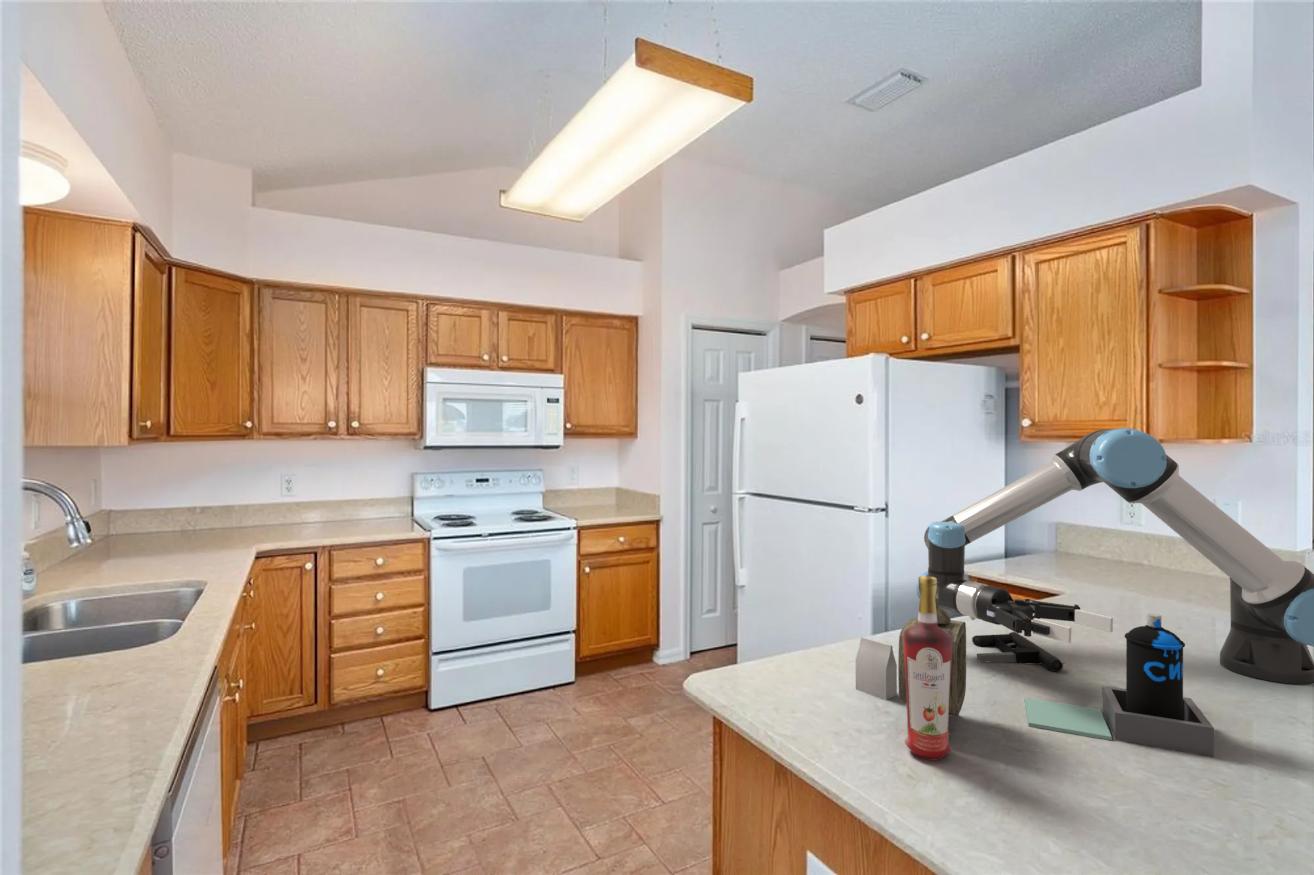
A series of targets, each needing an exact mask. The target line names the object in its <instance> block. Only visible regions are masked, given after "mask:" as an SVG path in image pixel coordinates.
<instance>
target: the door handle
mask: <svg viewBox="0 0 1314 875" xmlns="http://www.w3.org/2000/svg"><path fill="white" fill-rule="evenodd" d="M971 642H972V643H973V645H975V646H977V647H994V646H995V649H997V650H998V651H999V652H981V653H976V660H977V659H978V660H979V661H990V662H989V663H1016V662H1017V664H1018V663H1041V665H1042V666H1044V667H1045V668H1047V669H1048V670H1050V671H1053V672H1060V671H1062V669H1063V667H1064V664H1066V663H1065V662H1062V661H1061V660H1060V659H1059V658H1058V657H1056V656H1055V655H1053V654H1052V653H1050V652H1048V651H1047V650H1045V649H1044V648H1042V647H1041V646H1039V645H1038V644H1036V643H1034V642H1033V641H1031V640H1029V639H1028V638H1027V637H1025V636H1024V635H1021V634H1020V633H1016V632H1014V631H1012V632H1009V633H1005V634H983V635H974V636H973V637H972V638H971ZM1012 647H1013V648H1012ZM978 660H977V661H978ZM979 661H978V662H979Z"/></svg>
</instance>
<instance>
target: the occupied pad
mask: <svg viewBox="0 0 1314 875" xmlns="http://www.w3.org/2000/svg"><path fill="white" fill-rule="evenodd" d="M1024 704H1025V712H1026V718H1027V725H1028V727H1032V728H1037V729H1038V728H1039V729H1043V730H1049V731H1055V732H1060V733H1067V734H1073V735H1079V736H1084V737H1090V738H1095V739H1096V738H1097V739H1101V740H1107V741H1112V740H1113V738H1112V737H1113V735H1111V734H1112V733H1111V731H1110V730H1109V726H1108V725H1107V724H1108V723H1107V722H1106V720H1105V716H1104V715H1103V713H1102V710H1101V709H1100V708H1094V707H1088V706H1083V705H1081V706H1080V705H1075V704H1069V703H1062V702H1055V701H1051V700H1042V699H1038V698H1032V697H1031V698H1029V697H1024Z"/></svg>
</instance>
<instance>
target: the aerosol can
mask: <svg viewBox="0 0 1314 875" xmlns="http://www.w3.org/2000/svg"><path fill="white" fill-rule="evenodd" d="M1124 638H1125V639H1126V640H1125V642H1126V646H1125V647H1126V649H1125V650H1126V656H1125V657H1126V659H1125V660H1126V661H1125V662H1126V670H1125V672H1126V673H1125V675H1126V676H1125V678H1126V680H1125V681H1126V683H1125V685H1126V686H1125V687H1126V688H1125V689H1126V712H1130V713H1137V714H1143V715H1150V716H1156V717H1163V718H1169V719H1176V720H1182V721H1183V697H1184V648H1185V646H1186V643H1185V642H1184V641H1183V640H1181V639H1180V637H1179V636H1178V635H1177V634H1176V633H1174V632H1172V631H1171V630H1169V629H1165V628H1164V627H1162V615H1161V614H1158V613H1153V612H1151V613H1150V612H1149V613H1147V614H1146V624H1145V625H1144V626H1143V625H1142V626H1141V625H1140V626H1137V627H1133V628H1132V629H1130V630H1129V631H1128V632H1126V633H1124Z"/></svg>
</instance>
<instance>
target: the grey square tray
mask: <svg viewBox="0 0 1314 875" xmlns="http://www.w3.org/2000/svg"><path fill="white" fill-rule="evenodd" d="M1101 687H1102V688H1101V689H1102V692H1101V693H1102V698H1101V699H1102V700H1101V701H1102V703H1101V704H1102V707H1101V708H1102V710H1101V711H1102V712H1103V713H1102V714H1104V715H1103V716H1104V718H1105V719H1106V720H1105V721H1107V722H1106V723H1107V724H1108V728H1110V732H1111V734H1112V737H1113V739H1114V740H1116V741H1120V742H1126V743H1131V744H1137V745H1143V746H1144V745H1145V746H1151V747H1155V748H1161V749H1168V750H1172V749H1174V750H1173V751H1178V752H1184V753H1185V752H1186V753H1191V754H1196V753H1197V754H1196V755H1200V756H1201V755H1202V756H1208V757H1213V758H1214V757H1215V727H1214V726H1213V724H1212V723H1211V722H1210V721H1209V720H1208V718H1207V717H1206V716H1205V715H1204V713H1203V712H1202V711H1201V709H1199V707H1198V705H1196V703H1195V701H1193V699H1192V698H1191V697H1185V696H1183V721H1182V720H1176V719H1169V718H1163V717H1156V716H1150V715H1143V714H1137V713H1130V712H1126V688H1123V687H1113V686H1109V685H1108V686H1107V685H1102V686H1101Z"/></svg>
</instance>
